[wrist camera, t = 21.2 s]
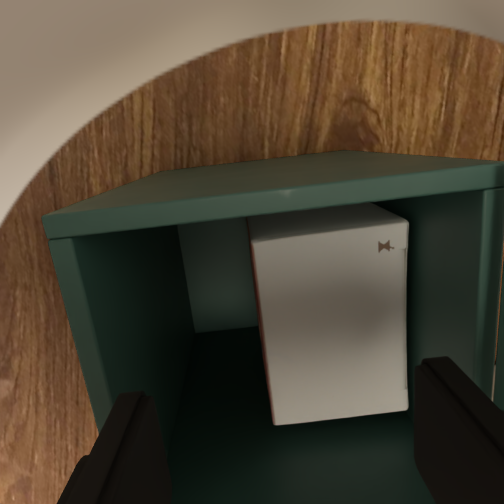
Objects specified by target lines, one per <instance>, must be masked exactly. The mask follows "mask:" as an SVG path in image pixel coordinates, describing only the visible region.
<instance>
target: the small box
mask: <svg viewBox="0 0 504 504" xmlns="http://www.w3.org/2000/svg"><path fill="white" fill-rule="evenodd" d="M246 220H247V228H248V237H249V246H250V256H251V266H252V276H253V284H254V292H255V301H256V310H257V318H258V327H259V334H260V341H261V348H262V355H263V362H264V369H265V375H266V382H267V388H268V395H269V401H270V407H271V414H272V421H273V424H274V425H284V424H296V423H305V422H313V421H321V420H330V419H338V418H346V417H355V416H363V415H371V414H380V413H388V412H397V411H405V410H407V409H408V407H409V402H408V388H407V347H406V277H407V249H408V233H409V222H408V221H407V220H406V219H404V218H402V217H400V216H398V215H396V214H394V213H392V212H389V211H387V210H385V209H383V208H381V207H379V206H377V205H375V204H372V203H370V202H368V203H360V204H351V205H342V206H334V207H325V208H317V209H308V210H299V211H291V212H282V213H274V214H265V215H256V216H248V217H246Z"/></svg>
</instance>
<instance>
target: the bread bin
mask: <svg viewBox="0 0 504 504" xmlns="http://www.w3.org/2000/svg"><path fill="white" fill-rule="evenodd" d="M368 202H370V203H372V204H375V205H377V206H379V207H381V208H383V209H385V210H387V211H389V212H392V213H394V214H396V215H398V216H400V217H402V218H404V219H406V220H407V221H408V222H409V233H408V249H407V277H406V347H407V388H408V402H409V407H408V409H407V410H405V411H397V412H388V413H380V414H371V415H363V416H355V417H346V418H338V419H330V420H321V421H313V422H305V423H296V424H284V425H274V424H273V421H272V414H271V407H270V401H269V395H268V388H267V382H266V375H265V369H264V362H263V355H262V348H261V341H260V334H259V327H258V318H257V310H256V301H255V292H254V284H253V276H252V266H251V256H250V246H249V237H248V228H247V220H246V217H248V216H256V215H265V214H274V213H282V212H291V211H299V210H308V209H317V208H325V207H334V206H342V205H351V204H360V203H368ZM42 223H43V226H44V230H45V234H46V237H47V239H50V240H49V241H48V245H49V249H50V253H51V256H52V260H53V264H54V268H55V271H56V275H57V279H58V282H59V286H60V290H61V294H62V297H63V301H64V305H65V309H66V312H67V316H68V320H69V324H70V327H71V331H72V335H73V339H74V342H75V346H76V350H77V354H78V357H79V361H80V365H81V369H82V372H83V376H84V380H85V384H86V387H87V391H88V395H89V399H90V402H91V406H92V410H93V413H94V417H95V421H96V425H97V428H98V432H99V434H100V432H101V430H102V427H103V425H104V423H105V421H106V419H107V417H108V415H109V413H110V411H111V409H112V407H113V405H114V403H115V401H116V399H117V397H118V395H119V394H120V393H125V392H134V391H144V392H145V393H146V396H153V398H154V402H155V407H156V411H157V416H158V421H159V425H160V430H161V435H162V440H163V444H164V449H165V454H166V458H167V463H168V468H169V472H170V477H171V482H172V498H171V504H436V503H435V501H434V499H433V497H432V495H431V493H430V492H429V490H428V488H427V486H426V484H425V482H424V481H423V479H422V477H421V475H420V473H419V471H418V469H417V466H416V463H415V459H414V370H415V366H417V365H421V361H422V359H424V358H432V357H441V356H448V357H449V358H451V359H452V360H453V361H454V362H455V363H456V364H457V366H458V367H459V368H460V369H461V370H462V371H463V372H464V373H465V374H466V375H467V376H468V377H469V378H470V379H471V380H472V381H473V382H474V383H475V384H476V385H477V386H478V387H479V388H480V389H481V390H482V391H483V392H484V393H485V394H486V395H487V396H488V397H489V398H490V399H491V400H492V390H493V377H494V363H495V350H496V336H497V322H498V309H499V295H500V282H501V268H502V254H503V241H504V161H491V160H477V159H463V158H449V157H435V156H421V155H407V154H392V153H378V152H364V151H350V150H340V151H332V152H323V153H314V154H306V155H297V156H288V157H280V158H271V159H262V160H254V161H245V162H236V163H228V164H219V165H210V166H202V167H193V168H184V169H176V170H167V171H160V172H157V173H155V174H152V175H149V176H147V177H144V178H141V179H139V180H136V181H133V182H131V183H128V184H125V185H123V186H120V187H117V188H115V189H112V190H109V191H107V192H104V193H101V194H99V195H96V196H93V197H91V198H88V199H85V200H83V201H80V202H77V203H75V204H72V205H69V206H67V207H64V208H61V209H59V210H56V211H53V212H51V213H48V214H45V215H43V216H42Z"/></svg>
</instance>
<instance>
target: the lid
mask: <svg viewBox="0 0 504 504" xmlns="http://www.w3.org/2000/svg"><path fill="white" fill-rule="evenodd" d="M493 402H494V403H495V404H496V406H497V407H498V408H499V409H500V410H503V411H504V262H503V275H502V288H501V302H500V315H499V328H498V342H497V355H496V369H495V382H494V395H493Z"/></svg>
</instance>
